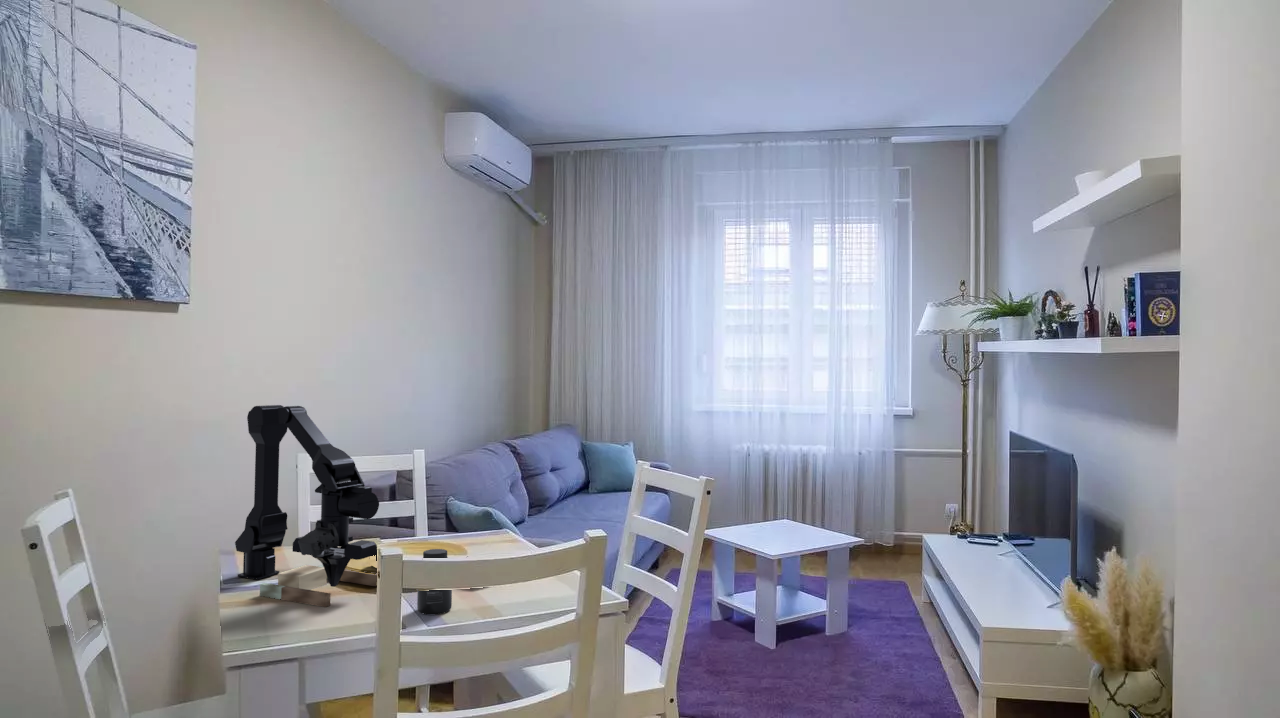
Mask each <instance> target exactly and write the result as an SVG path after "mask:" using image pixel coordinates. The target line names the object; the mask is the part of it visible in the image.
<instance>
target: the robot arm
mask: <svg viewBox="0 0 1280 718" xmlns="http://www.w3.org/2000/svg"><path fill="white" fill-rule="evenodd" d="M246 417H247V418H246V419H247V420H246V421H247V430H248V434H249V435H250V437H251V439H252V440H253V441H254V443H255V456H254V457H255V462H254V465H255V467H254V495H253V497H254V498H253V499H254V502H253V507H252V508H251V510H250V511H249V513H248V515H247V516H246V519H245V526H244V530H243V531H242V533H240V535H239V536H238V537H237V538H236V541H235V542H234V545H235V549H236V551H237V552H239V553H243V564H242V567H243V568H242V569H243V570H242V572H240V573H238V574H237V575H236V577H238V578H243V579H250V580H258V581H259V580H262V579H264V578H268V577H271V576H274V575H278V573H280V570H278V569H277V570H276V554H275V552H276V551H275V548H280V547H282V546H283V542H284V539H285V535H286V533H287V530H288V529H289V528H288V513H287V512H286V511H285V512H283V510H282V509H281V508H280V505H279V472H280V470H279V469H280V443H281V442H282V440H283V439H284V437H285V436H286V434H287V433H288V430H289V431H290V432H291V434H292V435H293V436H294V437H295V439H296V440H297V442H298V443H299V444H300V445H301V447H302V448H303V449H304V451H305V452H306V453H307V454H308V456H309V457H310V458H311V463H312V464H311V468H312V471H313V473H314V475H315V477H316V478H317V480H318V482H319V483H320V485H318V487H316V488H315V489H314V493H316V494H317V493H318V494H321V497H320V498H321V503H320V504H321V507H320V512H321V514H320V519H317V520H316V523H315V528H314V529H313V530H311V531H309V532H307V534H304V535H302V536H299V537H296V538H295V539H294V540H293V542H292V552H294V553H301V555H302V556H306V555H308V556H311V557H312V558H314V559H316V560H317V561H319V562H320V563H321V564H322V566H323V567H324V569H325V572H326V574H327V577H328V579H327V581H328V582H329V585H330V587H333V588H335V587H337V586H338V584H339V582H340V581H339V580H340V578H341V576H342V574H343V572H344V570H345V569H347V566H348V565H349V563H350V561H351V560H355V561H356V560H357V561H359V560H364V559H366V558H370V556H373V555H376V554H377V550H378V544H376V542H375V541H372V540H365V539H364V540H362V539H360V540H358V541H354V536H353V535H350V524H351V523H354V519H361V520H370V519H372V518H373V517H375V516H376V514H377V512H378V510H379V508H380V500H379V499H378V496H377V494H375V493H374V492H373V490H372V489H373V488H372V487H373V486H366V485H365V482H364V479H363V478H362V476H361V475H360V473H359V471H358V468H357V466H356V463H355V461H354V459H353V458H352V457H351V456H350V455H348V454H347V453H346V451H344V450H342V449H340V448H338V447H335V446H334V445H333V444H331V442H330V441H329V440H328V439H327V438H326V436H325V435H324V434H323V432H322V431H321V430H320V428H319V427H318V426H317V425H316V424H315V422H314V421H313V420H312V419H311V417H310V416H309V414H308V412H307V409H306V408H305V406H302V405H290V406H289V405H287V406H284V405H280V404H271V405H267V404H265V405H254V406H253V407H251V409H250V410H249V411H248V412H247V416H246ZM353 541H354V542H353Z"/></svg>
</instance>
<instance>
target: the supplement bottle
mask: <svg viewBox="0 0 1280 718" xmlns="http://www.w3.org/2000/svg"><path fill="white" fill-rule="evenodd" d="M422 554H423V555H422V556H423V557H422V559H423V558H449V557H448V550H446V549H443V548H432V549H427V550H424V551H423V553H422ZM416 594H417V595H416V596H417V597H416V598H417V601H416V602H417V603H416V604H417V605H416V607H417V608H416V609H417V611H418V613H419V614H422V613H424V614H423V615H427V614H435V615H441V614H440V613H442V614H445V613H448V612H449V611H451V609H452V604H453V603H452V602H453V601H452V598H453V597H452V596H453V595H452V594H453V589H452V590H429V591H418V590H417V593H416ZM447 611H448V612H447ZM444 612H445V613H444Z"/></svg>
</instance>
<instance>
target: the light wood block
mask: <svg viewBox="0 0 1280 718" xmlns="http://www.w3.org/2000/svg"><path fill="white" fill-rule="evenodd" d="M318 566H319V565H317V566H316V565H309V564H305V565H302V566H299V567H298V566H297V567H295V568H292V569H288V570H285V571H282V572H279V573H278V574H277V585H281V586H288V587H294V588H300V589H307V590H314V589H318V588H320V587H321V588H322V587H324V586H326V585H327V581H328V579H327V574H326V572H325V569H324V567H318Z"/></svg>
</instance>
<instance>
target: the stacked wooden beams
mask: <svg viewBox="0 0 1280 718" xmlns="http://www.w3.org/2000/svg"><path fill="white" fill-rule="evenodd" d="M317 566H318V567H323V564H322V565H317ZM348 569H349V568H348ZM348 569H347V568H345V570H344V572H343V574H342V576H341V578H340V580H339V582H343V583H345V582H346V583H352V584H358V585H363V586H364V585H366V586H372V587H377V586H376V582H377V573H376V572H375V573H376V574H375V575H374V574H365V573H359V572H356V571H351V570H352V569H350V570H348ZM327 580H328V577H327ZM331 594H332V593H331V592H324V591H319V590H314V589H312V590H307V589H300V588H294V587H288V586H281V585H278V584H274V583H267V582H263V583H260V584H259V596H260V597H263V596H265V597H264V598H269V597H270V599H274V598H275V599H276V600H280V599H281V601H287V602H293V603H300V604H306V605H310V606H317V607H323V608H327V607H330V606H331Z"/></svg>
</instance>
